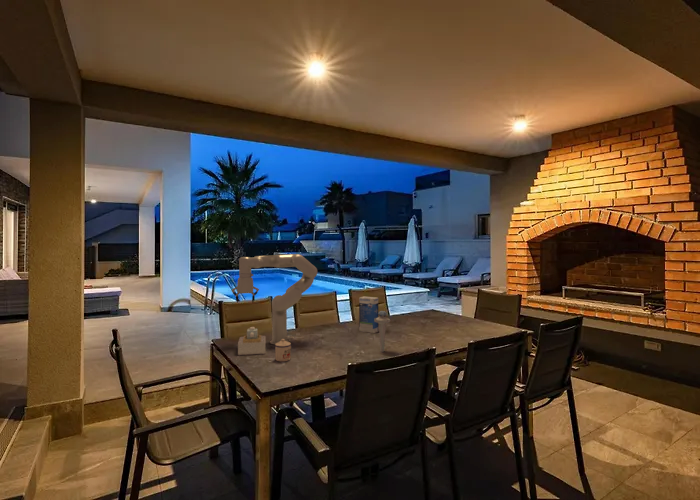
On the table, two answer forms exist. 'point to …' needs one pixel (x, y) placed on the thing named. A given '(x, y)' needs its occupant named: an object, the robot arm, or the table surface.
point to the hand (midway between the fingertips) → (245, 302)
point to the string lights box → (368, 314)
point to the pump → (252, 333)
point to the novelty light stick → (382, 328)
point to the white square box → (252, 345)
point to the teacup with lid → (283, 350)
